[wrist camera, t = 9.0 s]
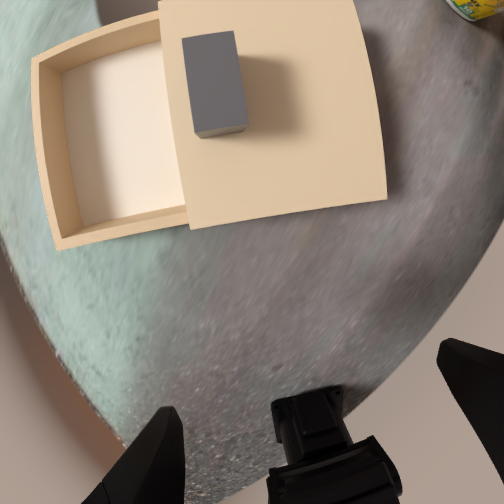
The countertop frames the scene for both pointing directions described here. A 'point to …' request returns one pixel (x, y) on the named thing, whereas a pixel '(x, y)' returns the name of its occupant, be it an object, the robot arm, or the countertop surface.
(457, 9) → the supplement bottle
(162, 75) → the carton
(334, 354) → the countertop surface
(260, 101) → the carton lid
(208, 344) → the countertop surface
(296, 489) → the robot arm
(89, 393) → the countertop surface
